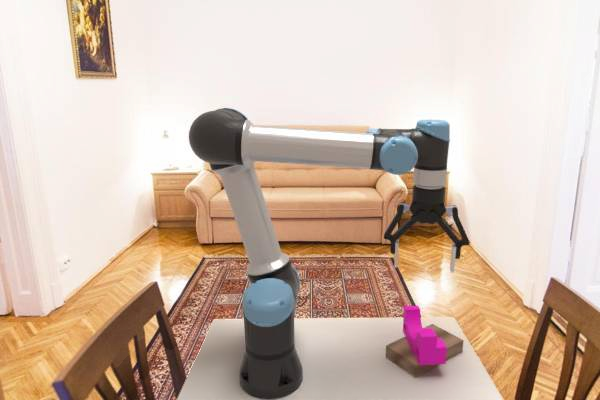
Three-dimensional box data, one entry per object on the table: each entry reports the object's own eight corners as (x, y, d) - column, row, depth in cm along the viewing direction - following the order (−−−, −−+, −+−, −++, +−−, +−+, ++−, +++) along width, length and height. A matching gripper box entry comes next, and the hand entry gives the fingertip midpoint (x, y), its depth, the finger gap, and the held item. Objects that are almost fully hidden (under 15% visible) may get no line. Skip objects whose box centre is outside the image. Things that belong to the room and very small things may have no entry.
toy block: (445, 364, 104) (447, 336, 102) (419, 365, 104) (421, 336, 102) (425, 330, 119) (427, 305, 117) (402, 331, 119) (403, 306, 117)
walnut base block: (385, 359, 113) (386, 345, 112) (431, 336, 123) (432, 323, 122) (415, 379, 105) (416, 365, 104) (462, 353, 115) (463, 340, 114)
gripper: (482, 184, 105) (474, 266, 111) (377, 180, 111) (374, 258, 117) (487, 191, 98) (478, 278, 104) (375, 186, 104) (372, 269, 109)
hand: (423, 267), depth 110 cm, fingers open, 13 cm apart
